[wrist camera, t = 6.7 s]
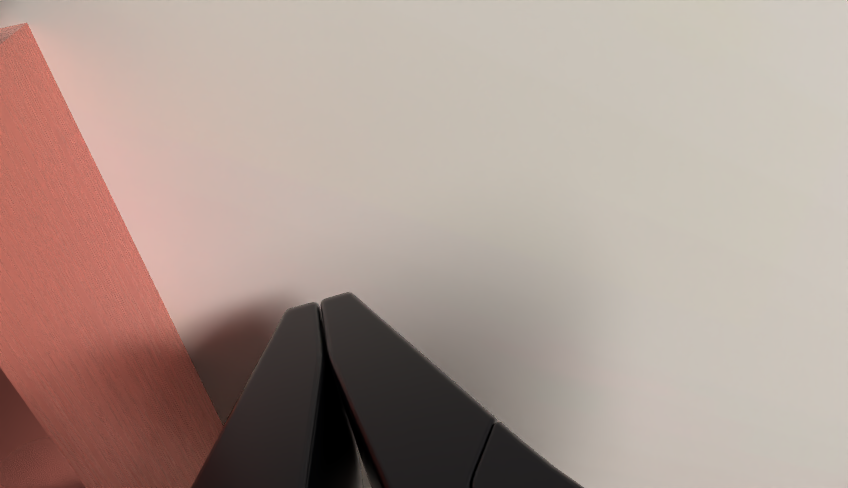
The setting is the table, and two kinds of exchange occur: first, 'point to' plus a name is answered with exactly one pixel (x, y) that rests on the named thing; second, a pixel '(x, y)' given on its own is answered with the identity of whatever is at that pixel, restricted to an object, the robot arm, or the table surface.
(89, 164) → the block
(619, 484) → the table surface
